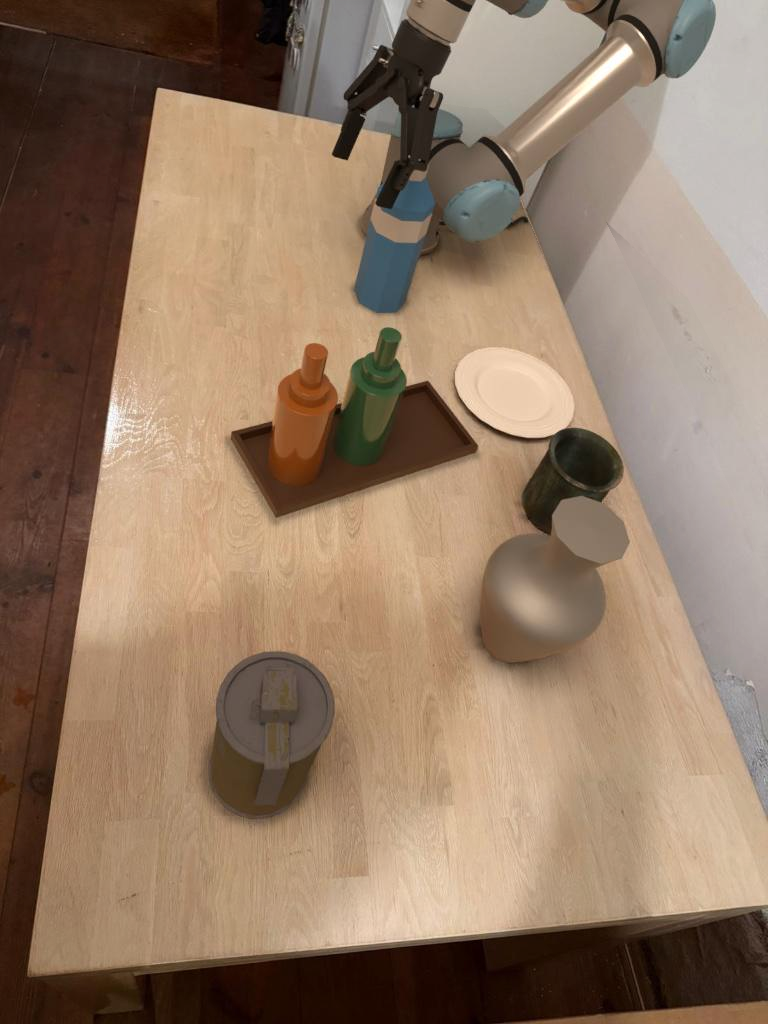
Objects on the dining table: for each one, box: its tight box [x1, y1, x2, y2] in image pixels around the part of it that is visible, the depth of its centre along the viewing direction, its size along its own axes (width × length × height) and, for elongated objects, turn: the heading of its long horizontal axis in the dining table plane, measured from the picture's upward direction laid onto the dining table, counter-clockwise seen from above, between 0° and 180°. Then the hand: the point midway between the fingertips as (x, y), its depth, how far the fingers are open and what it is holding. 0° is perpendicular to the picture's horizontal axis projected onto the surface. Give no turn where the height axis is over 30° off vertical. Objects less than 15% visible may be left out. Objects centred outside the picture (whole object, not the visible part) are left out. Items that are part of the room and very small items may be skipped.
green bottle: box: [333, 326, 408, 466], centre depth 100 cm, size 8×8×21 cm
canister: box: [208, 650, 336, 820], centre depth 71 cm, size 11×10×20 cm
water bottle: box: [353, 155, 435, 314], centre depth 122 cm, size 9×9×25 cm
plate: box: [454, 346, 576, 439], centre depth 123 cm, size 21×21×2 cm
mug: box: [521, 427, 625, 535], centre depth 105 cm, size 11×15×12 cm
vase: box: [479, 496, 631, 664], centre depth 85 cm, size 14×14×25 cm
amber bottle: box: [267, 342, 339, 486], centre depth 96 cm, size 8×8×21 cm
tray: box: [230, 380, 479, 518], centre depth 108 cm, size 34×15×2 cm, turn 121°
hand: (360, 181), depth 111 cm, fingers open, 13 cm apart
